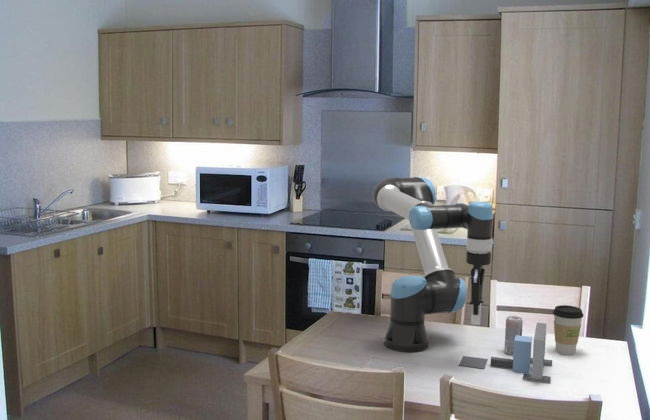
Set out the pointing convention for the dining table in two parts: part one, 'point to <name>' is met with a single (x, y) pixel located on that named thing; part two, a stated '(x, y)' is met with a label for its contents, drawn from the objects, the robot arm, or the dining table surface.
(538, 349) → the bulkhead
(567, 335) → the coffee cup
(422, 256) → the robot arm
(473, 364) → the mat
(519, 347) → the plug
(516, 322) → the energy drink
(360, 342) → the dining table surface
